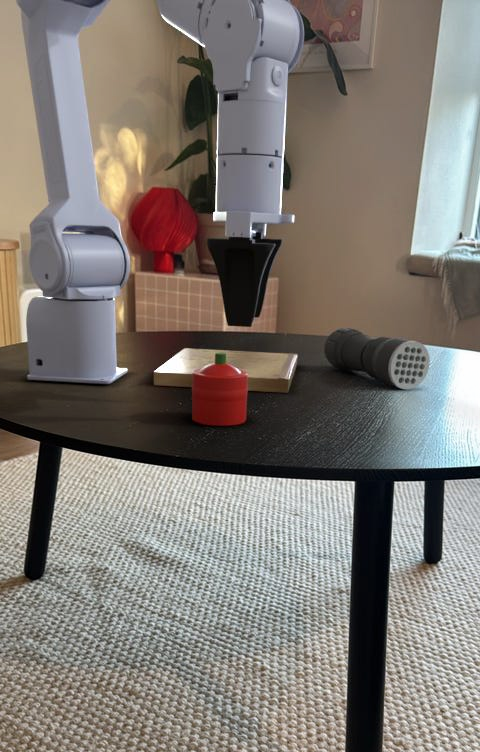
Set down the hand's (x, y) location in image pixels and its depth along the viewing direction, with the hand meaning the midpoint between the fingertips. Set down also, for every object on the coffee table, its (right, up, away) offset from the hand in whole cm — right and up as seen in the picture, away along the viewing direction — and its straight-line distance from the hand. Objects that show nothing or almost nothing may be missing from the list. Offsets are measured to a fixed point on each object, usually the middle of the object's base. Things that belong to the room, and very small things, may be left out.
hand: (244, 321), depth 69 cm
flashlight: (+16, -1, +23) cm, 28 cm away
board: (-1, -1, +22) cm, 22 cm away
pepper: (-2, -9, +1) cm, 9 cm away
